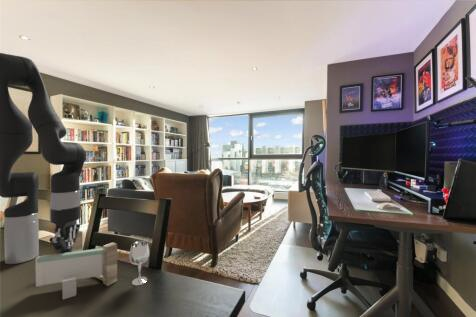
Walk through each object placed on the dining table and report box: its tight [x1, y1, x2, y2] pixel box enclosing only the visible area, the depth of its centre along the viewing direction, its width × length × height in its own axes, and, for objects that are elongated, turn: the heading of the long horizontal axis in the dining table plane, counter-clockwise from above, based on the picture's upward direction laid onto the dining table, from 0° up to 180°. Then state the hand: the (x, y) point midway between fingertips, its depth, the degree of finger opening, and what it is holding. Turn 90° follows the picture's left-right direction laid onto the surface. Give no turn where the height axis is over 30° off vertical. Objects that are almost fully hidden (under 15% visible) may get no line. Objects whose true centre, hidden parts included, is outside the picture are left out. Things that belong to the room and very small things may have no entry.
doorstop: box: [61, 274, 77, 300], centre depth 61 cm, size 3×3×5 cm
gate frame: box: [71, 229, 118, 287], centre depth 72 cm, size 24×3×12 cm, turn 61°
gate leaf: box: [35, 247, 103, 288], centre depth 65 cm, size 18×2×8 cm, turn 111°
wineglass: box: [129, 240, 150, 286], centre depth 68 cm, size 6×6×12 cm
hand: (66, 259), depth 67 cm, fingers closed
